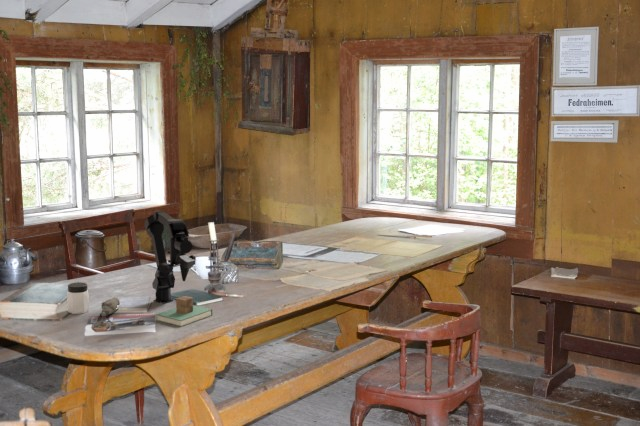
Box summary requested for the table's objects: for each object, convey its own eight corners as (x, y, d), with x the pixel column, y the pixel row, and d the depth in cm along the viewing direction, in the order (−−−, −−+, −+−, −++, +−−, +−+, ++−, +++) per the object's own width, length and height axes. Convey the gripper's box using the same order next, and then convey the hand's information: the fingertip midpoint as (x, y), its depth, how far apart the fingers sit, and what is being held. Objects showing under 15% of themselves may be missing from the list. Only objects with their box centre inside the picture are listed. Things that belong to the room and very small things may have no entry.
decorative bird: (123, 309, 364) (122, 293, 363) (109, 320, 348) (108, 303, 347) (111, 308, 365) (111, 292, 364) (97, 319, 349) (96, 302, 348)
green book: (188, 310, 366) (188, 303, 365) (212, 315, 358) (212, 309, 358) (156, 321, 349) (156, 314, 349) (180, 327, 342) (180, 320, 341)
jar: (92, 311, 360) (91, 285, 357) (75, 315, 354) (74, 288, 352) (81, 307, 366) (80, 281, 363) (64, 310, 360) (63, 284, 358)
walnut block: (184, 309, 357) (184, 295, 356) (193, 311, 354) (193, 297, 353) (176, 312, 353) (176, 298, 352) (185, 314, 350) (185, 300, 349)
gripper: (175, 255, 349) (175, 290, 351) (204, 247, 364) (204, 281, 367) (156, 251, 355) (156, 286, 357) (185, 244, 370) (186, 278, 373)
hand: (176, 283), depth 363 cm, fingers open, 9 cm apart
